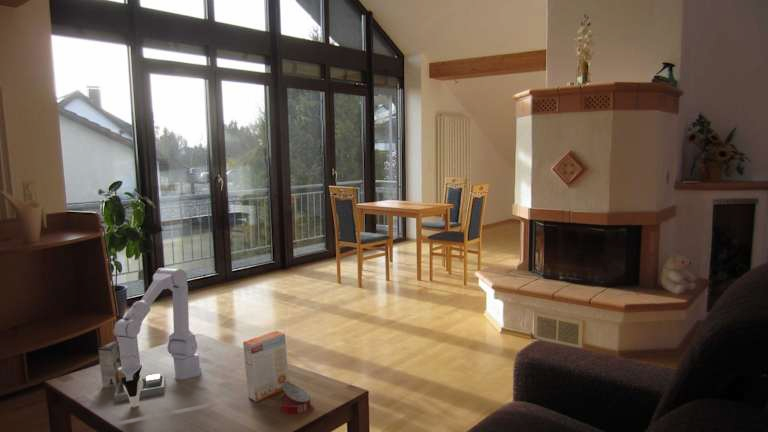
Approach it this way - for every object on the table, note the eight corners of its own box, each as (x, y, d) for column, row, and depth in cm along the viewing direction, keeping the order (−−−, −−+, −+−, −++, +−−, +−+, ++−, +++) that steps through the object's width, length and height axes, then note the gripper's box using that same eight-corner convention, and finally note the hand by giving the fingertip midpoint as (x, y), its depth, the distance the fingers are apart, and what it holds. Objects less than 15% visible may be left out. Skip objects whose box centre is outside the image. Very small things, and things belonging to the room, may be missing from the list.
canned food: (294, 412, 182) (300, 383, 185) (313, 418, 176) (320, 387, 179) (269, 410, 174) (276, 379, 177) (288, 415, 168) (295, 383, 171)
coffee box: (119, 378, 204) (114, 339, 202) (133, 379, 203) (129, 339, 201) (102, 389, 195) (97, 348, 193) (117, 390, 194) (112, 349, 192)
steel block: (161, 384, 195) (160, 373, 194) (160, 390, 191) (159, 378, 190) (148, 387, 193) (146, 375, 193) (147, 392, 189) (146, 380, 188)
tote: (165, 383, 198) (164, 374, 198) (164, 395, 188) (163, 386, 188) (119, 391, 193) (118, 382, 192) (115, 405, 183) (114, 395, 182)
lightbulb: (126, 413, 175) (123, 381, 174) (124, 406, 180) (121, 375, 179) (145, 408, 178) (143, 377, 177) (143, 401, 183) (141, 371, 182)
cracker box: (280, 383, 194) (276, 329, 191) (289, 388, 190) (286, 333, 187) (246, 397, 185) (242, 340, 182) (255, 403, 180) (251, 345, 177)
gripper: (119, 348, 182) (123, 385, 184) (113, 364, 169) (118, 403, 171) (141, 345, 185) (145, 381, 187) (137, 360, 171) (142, 399, 173)
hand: (134, 391), depth 179 cm, fingers closed on lightbulb, 6 cm apart
